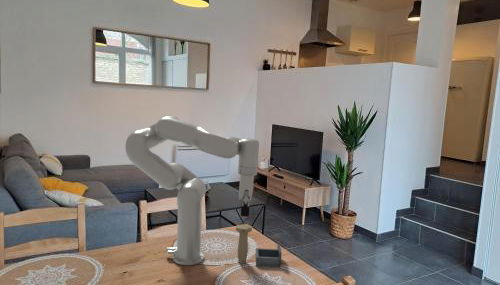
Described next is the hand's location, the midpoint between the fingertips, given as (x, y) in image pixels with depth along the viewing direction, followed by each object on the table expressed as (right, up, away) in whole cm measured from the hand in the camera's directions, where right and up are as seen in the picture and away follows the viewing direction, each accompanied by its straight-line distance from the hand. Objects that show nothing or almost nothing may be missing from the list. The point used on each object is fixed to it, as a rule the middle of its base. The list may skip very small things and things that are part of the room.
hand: (244, 212), depth 141 cm
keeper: (+9, -21, +4) cm, 24 cm away
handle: (-1, -21, +2) cm, 21 cm away
